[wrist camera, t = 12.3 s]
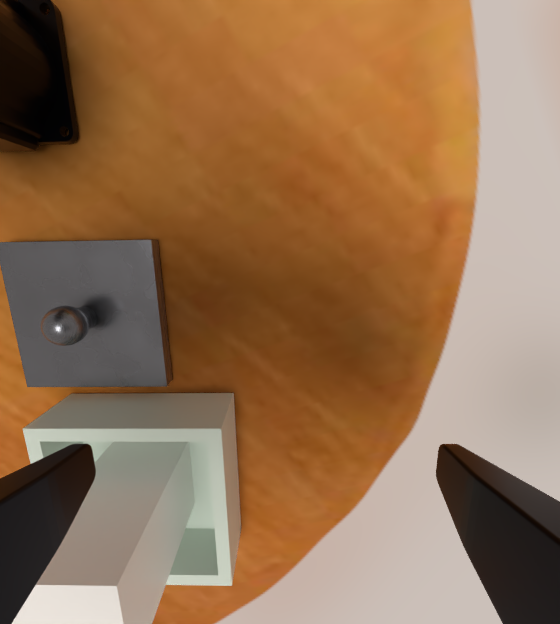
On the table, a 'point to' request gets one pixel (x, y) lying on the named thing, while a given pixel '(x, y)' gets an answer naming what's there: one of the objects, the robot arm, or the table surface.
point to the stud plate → (88, 312)
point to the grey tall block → (119, 540)
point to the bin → (165, 428)
